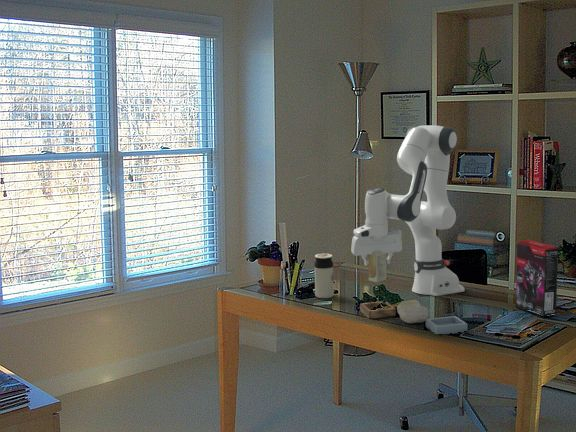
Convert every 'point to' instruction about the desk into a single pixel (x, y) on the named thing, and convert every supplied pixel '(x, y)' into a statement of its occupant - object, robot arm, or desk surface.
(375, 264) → the skincare box
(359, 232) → the robot arm
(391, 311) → the tray
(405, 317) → the fossil replica
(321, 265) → the travel mug
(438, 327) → the slate tray
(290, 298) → the desk surface
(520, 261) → the graphics card box
